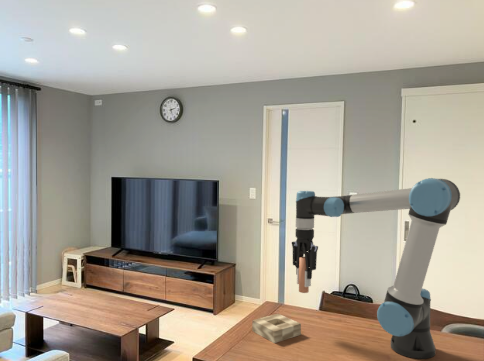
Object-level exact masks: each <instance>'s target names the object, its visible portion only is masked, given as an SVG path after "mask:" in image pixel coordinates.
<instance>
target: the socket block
mask: <svg viewBox="0 0 484 361" xmlns="http://www.w3.org/2000/svg"><path fill="white" fill-rule="evenodd" d="M251 328H252V329H251V330H252V332H253V333H255V334H256V335H258V336H261V337H262V338H264V339H266V340H267V341H270V342H271V343H273V344H276V343H279V342H282V341H286V340H289V339H291V338H295V337H298V336H301V335H302V323H301V322H299V321H296V320H293V319H291V318H289V317H287V316H285V315H282V314H280V313H274V314H271V315H268V316H264V317H260V318H259V317H258V318H256V319H252V327H251Z"/></svg>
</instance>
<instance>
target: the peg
mask: <svg viewBox="0 0 484 361" xmlns="http://www.w3.org/2000/svg"><path fill="white" fill-rule="evenodd" d="M305 270H306V262H305V256H303V257H299V284H298V293H302V294H307V293H309V290H310V289H309V288H310V286H309V287H305Z"/></svg>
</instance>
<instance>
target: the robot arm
mask: <svg viewBox="0 0 484 361" xmlns="http://www.w3.org/2000/svg"><path fill="white" fill-rule="evenodd" d="M460 200H461V192H460V189H459V187H458V186H457V185H456V184H455V183H454V182H453V181H451V180H449V179H446V178H433V177H431V178H425V179H422V180H420V181H418V182H416V183H415V184H414V185H413V186H412V187H409V188H401V189H392V190H383V191H377V192H376V191H375V192H367V193H366V192H365V193H357V194H350V195H339V196H316V193H315V191H313V190H298V191H297V192H296V199H295V207H296V208H295V213H296V214H295V238H296V240H295V241H291V248H292V266H295V268H296V270H295V272H296V284H297V285H299V257H305V262H306V270H305V287H309V288H310V287H311V286H312V285H311V284H312V283H311V282H312V279H313V278H312V277H313V271H316V270H317V257H318V256H317V255H318V250H319V246H318V245H315V244H314V242H313V239H314V238H315V229H314V228H315V216H324V217H329V218H338V217H341V216H342V215H347V214H357V213H358V214H359V213H373V212H383V211H384V212H385V211H386V212H387V211H398V210H399V211H400V210H408V213H407V214H408V216H409V218H410V219H411V222H410V226H409V228H408V233H407V236H406V240H405V243H404V247H403V250H402V255H401V257H400V261H399V265H398V268H397V271H396V276H395V279H394V283H393V285H391V286H389V287H388V288H387V291H386V294H385V298H384V301H383V302H382V303H381V304H380V305H379V307H378V309H377V311H376V315H377V316H376V318H377V321H378V323H379V325H380V327H381V328H382V329H383V330H384V331H385V332H386V333H388V334H390V335H391V338H390V349H391V350H393V352H395V353H397V354H398V355H401V356H404V357H408V358H412V359H420V360H421V359H423V360H424V359H425V360H426V359H431V358H434V357H435V355H436V345H435V343H434V339H433V336H432V333H431V300H432V299H431V292H430V291H429V290H427V289H426V288H423V286H424V283H425V280H426V276H427V273H428V269H429V266H430V262H431V259H432V256H433V252H434V249H435V245H436V242H437V239H438V235H439V231H440V228H442V227H444V226H446V225H447V223H448V219H449V216H450V213H451V211H452V210H454V209H455V208H456V207H457V206H458V205H459V203H460Z"/></svg>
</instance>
